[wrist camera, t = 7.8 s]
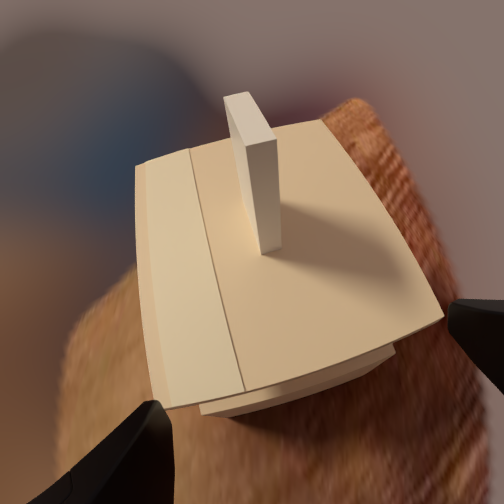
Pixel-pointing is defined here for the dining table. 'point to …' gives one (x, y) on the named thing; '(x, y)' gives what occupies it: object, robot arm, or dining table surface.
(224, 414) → the carton
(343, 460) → the dining table surface
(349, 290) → the carton lid
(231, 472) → the dining table surface
